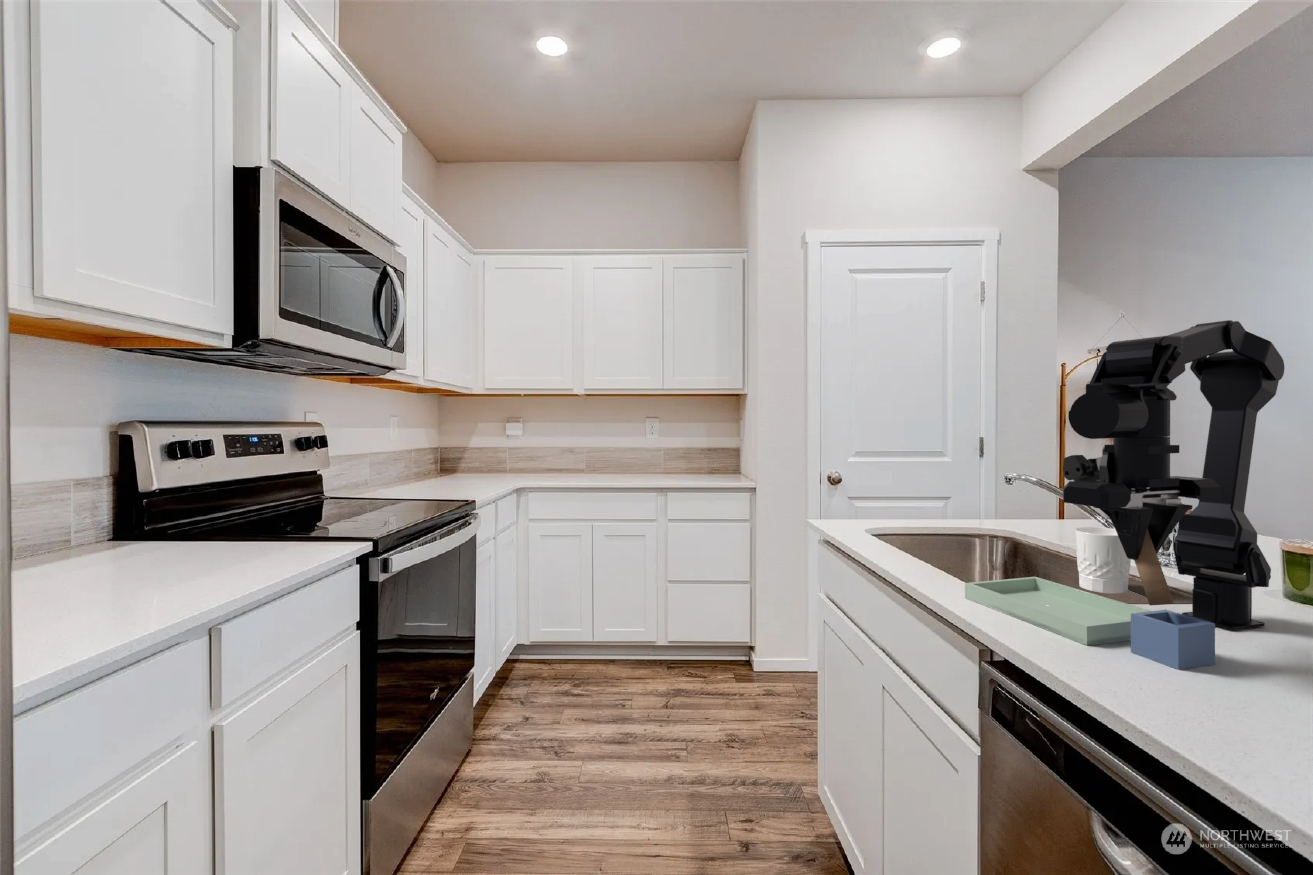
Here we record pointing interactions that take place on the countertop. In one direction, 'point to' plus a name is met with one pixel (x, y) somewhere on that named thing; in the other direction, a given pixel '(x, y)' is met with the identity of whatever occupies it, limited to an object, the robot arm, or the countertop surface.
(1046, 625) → the sage tray
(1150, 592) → the walnut dowel
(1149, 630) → the slate blue cup
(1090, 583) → the white cup
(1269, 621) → the countertop surface
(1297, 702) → the countertop surface
